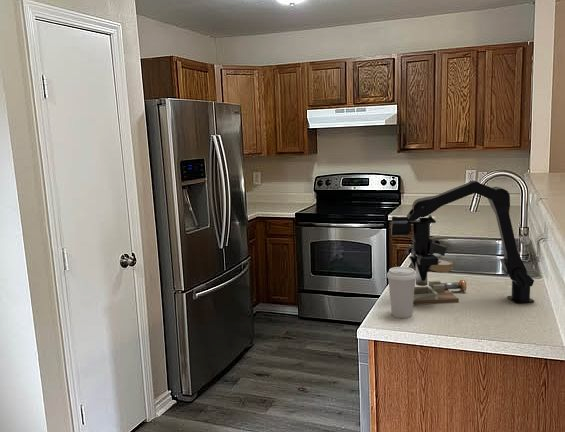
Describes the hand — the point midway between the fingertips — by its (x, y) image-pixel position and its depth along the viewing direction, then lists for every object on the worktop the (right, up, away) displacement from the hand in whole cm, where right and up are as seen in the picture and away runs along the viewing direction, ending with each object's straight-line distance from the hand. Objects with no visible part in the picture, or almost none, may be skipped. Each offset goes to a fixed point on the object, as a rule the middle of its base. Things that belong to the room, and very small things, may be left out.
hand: (421, 278), depth 179 cm
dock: (+4, -7, +3) cm, 8 cm away
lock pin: (+13, -5, +7) cm, 16 cm away
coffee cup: (-10, -10, -13) cm, 19 cm away
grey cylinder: (0, -2, 0) cm, 2 cm away
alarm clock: (+17, -1, +40) cm, 43 cm away
